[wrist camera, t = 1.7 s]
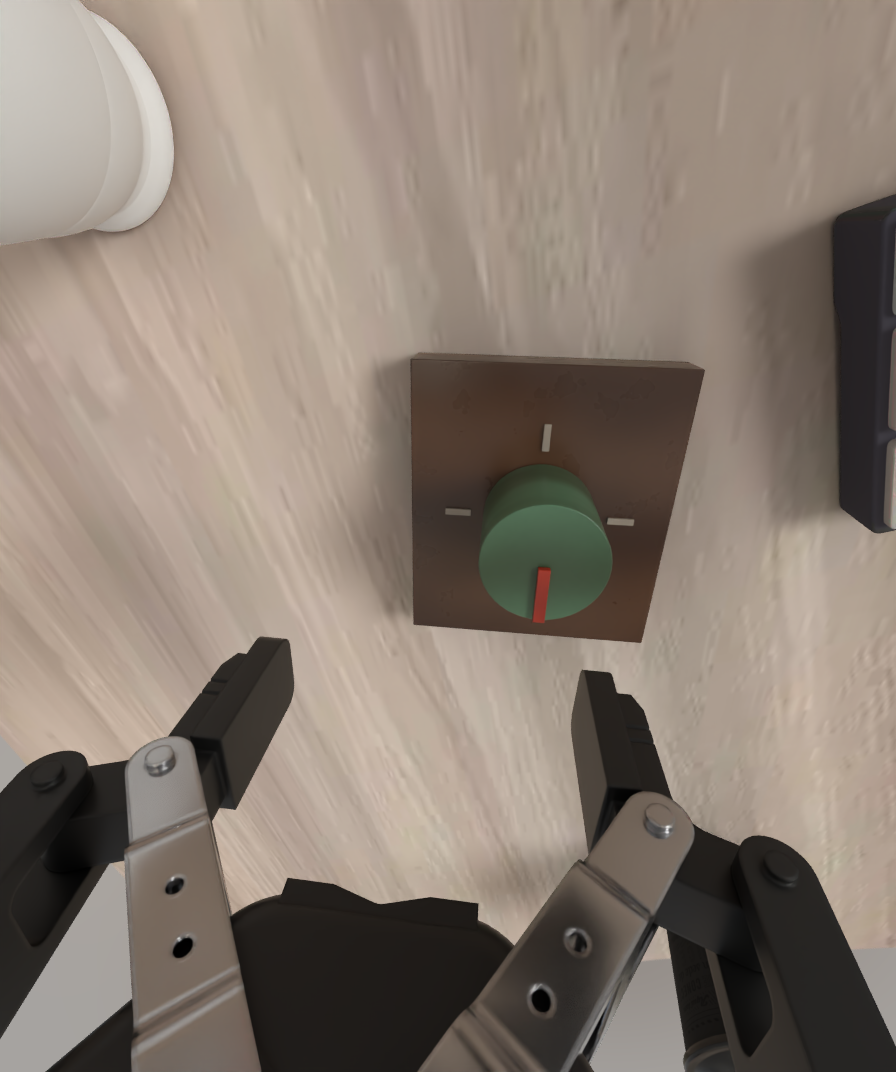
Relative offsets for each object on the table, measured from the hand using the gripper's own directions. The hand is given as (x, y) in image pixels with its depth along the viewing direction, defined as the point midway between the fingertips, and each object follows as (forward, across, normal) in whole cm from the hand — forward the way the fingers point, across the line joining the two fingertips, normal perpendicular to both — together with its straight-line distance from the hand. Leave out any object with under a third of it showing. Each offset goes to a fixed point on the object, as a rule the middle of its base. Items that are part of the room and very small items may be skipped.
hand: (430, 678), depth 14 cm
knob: (+15, -4, +2) cm, 16 cm away
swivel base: (+18, -4, +2) cm, 18 cm away
